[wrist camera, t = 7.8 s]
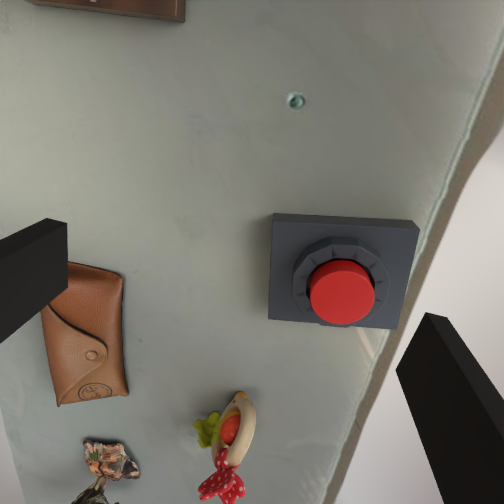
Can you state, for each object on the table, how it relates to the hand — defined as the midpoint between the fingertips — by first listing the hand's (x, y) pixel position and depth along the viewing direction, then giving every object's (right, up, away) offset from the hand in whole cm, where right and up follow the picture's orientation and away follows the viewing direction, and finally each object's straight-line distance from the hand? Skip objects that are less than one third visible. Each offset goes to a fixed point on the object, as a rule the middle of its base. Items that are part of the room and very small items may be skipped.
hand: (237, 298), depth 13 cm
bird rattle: (-2, -17, +29) cm, 34 cm away
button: (+8, -1, +17) cm, 19 cm away
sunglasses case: (-18, -8, +27) cm, 33 cm away
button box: (+8, 0, +20) cm, 22 cm away
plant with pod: (-19, -28, +37) cm, 50 cm away
